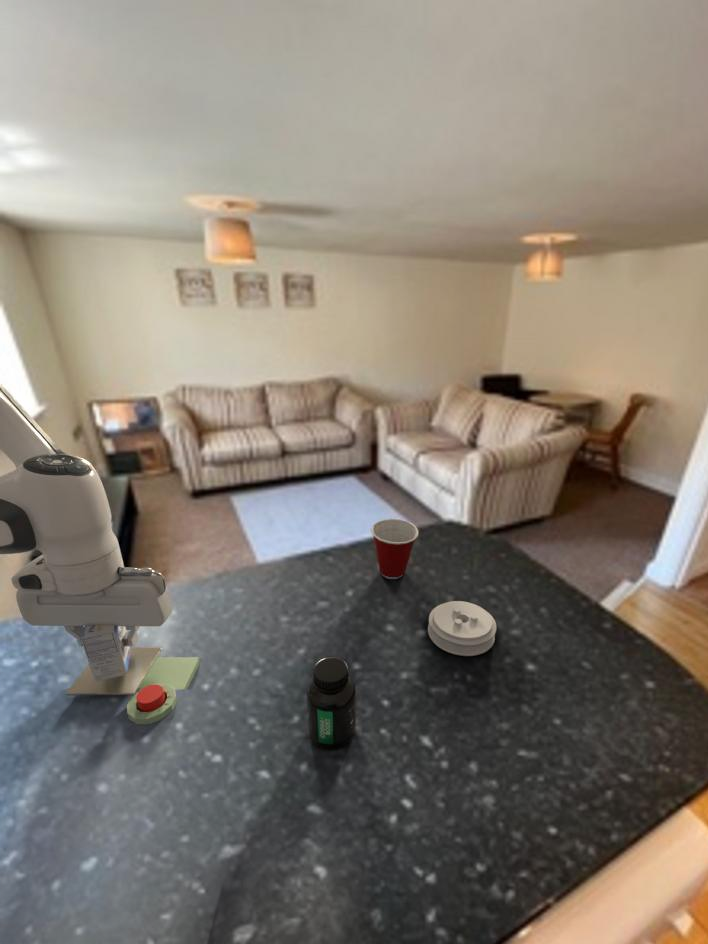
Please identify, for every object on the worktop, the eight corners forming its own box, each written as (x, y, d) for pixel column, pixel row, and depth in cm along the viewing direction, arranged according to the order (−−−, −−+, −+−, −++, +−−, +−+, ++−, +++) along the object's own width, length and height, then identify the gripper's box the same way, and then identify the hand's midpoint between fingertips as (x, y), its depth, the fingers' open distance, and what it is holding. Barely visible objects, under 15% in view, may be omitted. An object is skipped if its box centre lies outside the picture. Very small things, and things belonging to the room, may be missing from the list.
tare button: (134, 712, 65) (131, 703, 64) (145, 692, 68) (143, 684, 67) (159, 712, 65) (157, 703, 64) (169, 692, 68) (167, 684, 68)
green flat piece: (53, 734, 64) (47, 719, 63) (106, 662, 77) (102, 648, 76) (168, 733, 65) (164, 718, 64) (201, 662, 78) (199, 649, 77)
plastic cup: (383, 591, 99) (385, 544, 94) (362, 568, 107) (362, 523, 102) (424, 579, 104) (428, 533, 99) (400, 558, 112) (403, 515, 107)
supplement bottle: (331, 761, 62) (329, 697, 57) (299, 732, 66) (294, 670, 61) (365, 729, 66) (366, 668, 61) (333, 704, 70) (331, 645, 65)
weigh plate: (66, 695, 67) (65, 693, 67) (102, 648, 76) (101, 647, 76) (134, 695, 67) (133, 693, 67) (162, 649, 76) (161, 647, 76)
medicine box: (127, 675, 68) (115, 630, 65) (93, 683, 67) (79, 637, 63) (132, 642, 75) (122, 599, 71) (102, 648, 73) (89, 605, 70)
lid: (507, 648, 83) (511, 626, 81) (450, 668, 78) (453, 646, 76) (468, 610, 94) (471, 590, 92) (415, 625, 89) (417, 604, 87)
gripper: (170, 557, 67) (184, 630, 73) (30, 555, 66) (55, 630, 72) (152, 580, 61) (169, 658, 67) (-3, 579, 60) (28, 658, 66)
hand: (109, 643), depth 69 cm, fingers closed on medicine box, 5 cm apart
